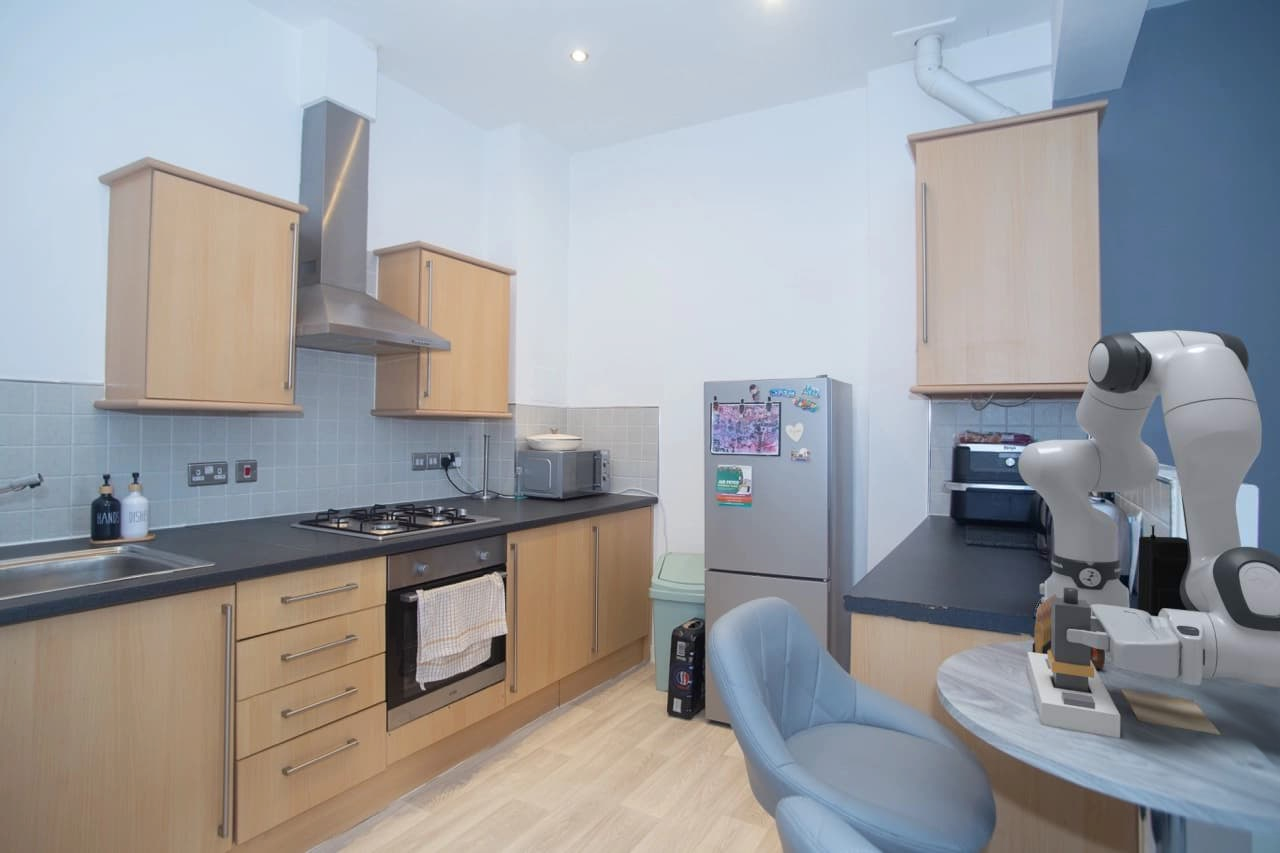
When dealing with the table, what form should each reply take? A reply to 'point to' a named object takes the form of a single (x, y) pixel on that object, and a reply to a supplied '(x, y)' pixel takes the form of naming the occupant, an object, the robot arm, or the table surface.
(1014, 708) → the table surface
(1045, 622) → the ammunition clip
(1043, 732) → the table surface
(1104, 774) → the table surface
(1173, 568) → the portable radio
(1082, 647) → the plug
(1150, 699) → the oak board
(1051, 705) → the power strip
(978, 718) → the table surface
